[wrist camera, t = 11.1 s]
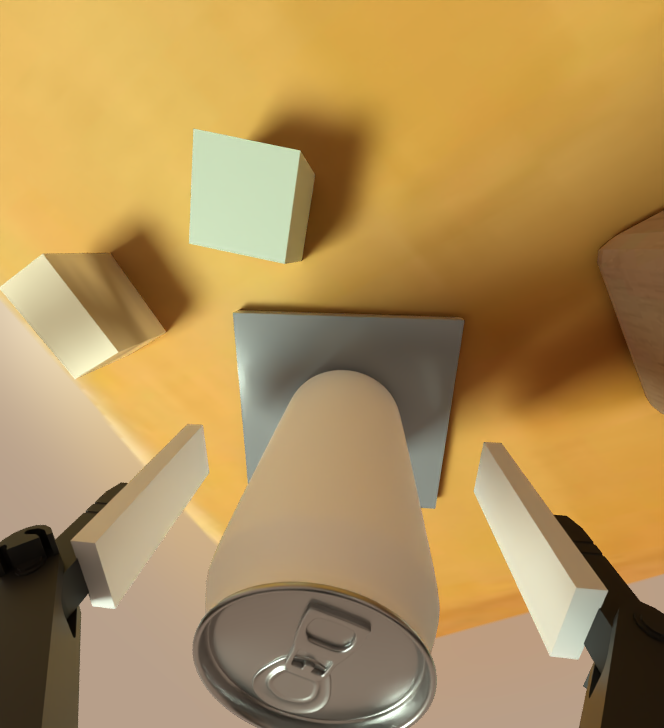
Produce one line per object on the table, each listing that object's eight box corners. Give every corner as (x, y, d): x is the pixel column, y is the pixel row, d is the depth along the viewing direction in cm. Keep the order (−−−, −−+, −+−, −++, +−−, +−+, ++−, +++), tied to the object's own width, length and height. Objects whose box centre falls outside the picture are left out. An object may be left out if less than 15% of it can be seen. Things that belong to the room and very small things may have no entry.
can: (273, 441, 20) (148, 699, 8) (312, 348, 17) (215, 525, 6) (370, 481, 20) (378, 784, 9) (420, 395, 18) (520, 648, 6)
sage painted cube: (234, 158, 15) (193, 128, 12) (315, 175, 15) (300, 150, 12) (227, 245, 17) (189, 243, 13) (302, 260, 17) (284, 263, 13)
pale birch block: (73, 280, 18) (-1, 287, 14) (111, 252, 18) (42, 253, 14) (130, 354, 19) (74, 379, 16) (167, 331, 19) (118, 352, 15)
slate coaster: (238, 310, 18) (232, 312, 17) (460, 317, 17) (464, 320, 16) (252, 485, 22) (249, 494, 21) (432, 499, 21) (435, 508, 20)
